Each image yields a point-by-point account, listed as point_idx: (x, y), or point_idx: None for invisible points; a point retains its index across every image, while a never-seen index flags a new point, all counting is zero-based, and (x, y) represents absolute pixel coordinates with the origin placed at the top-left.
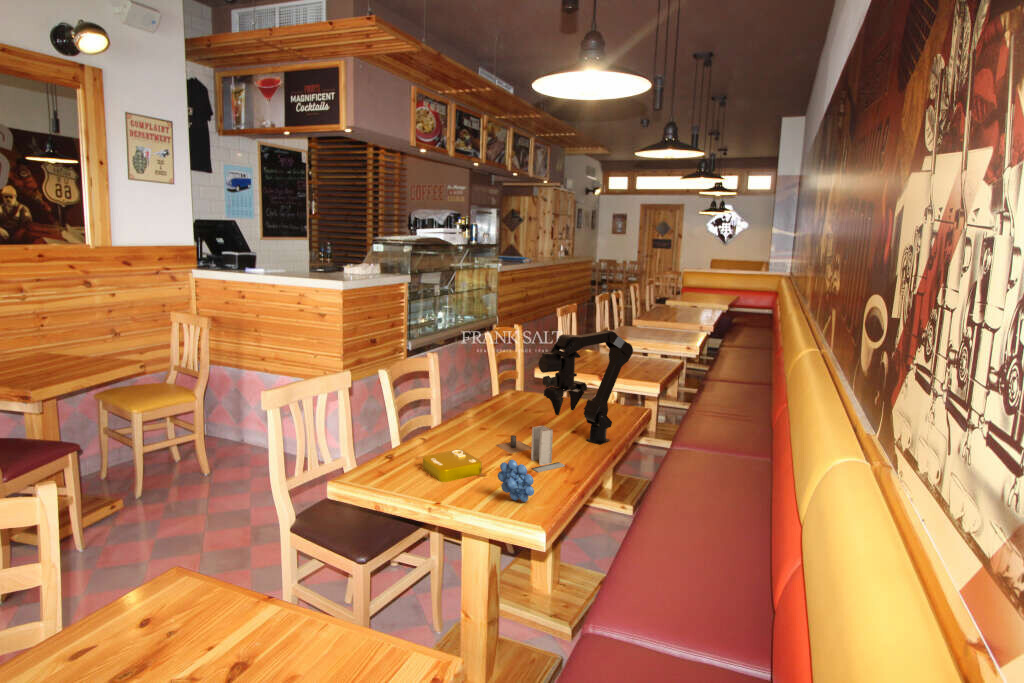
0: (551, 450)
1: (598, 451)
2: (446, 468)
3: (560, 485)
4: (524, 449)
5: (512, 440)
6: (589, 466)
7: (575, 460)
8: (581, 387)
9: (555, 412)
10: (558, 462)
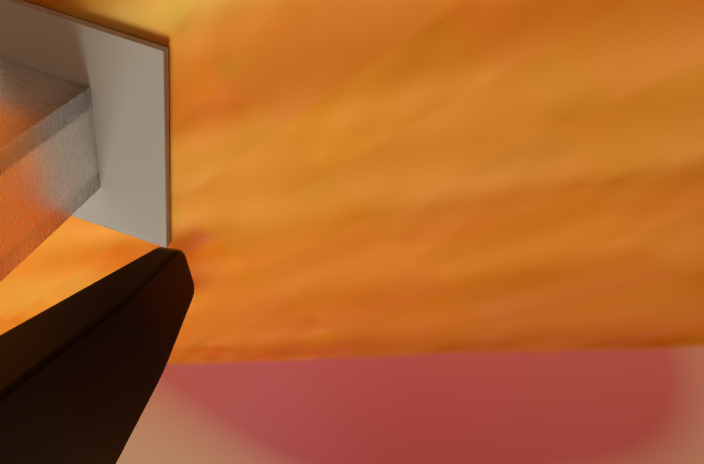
0: (28, 248)
1: (577, 294)
2: None
3: (19, 315)
4: None
5: None
6: (286, 333)
7: (296, 249)
8: None
9: (117, 286)
10: (160, 202)
